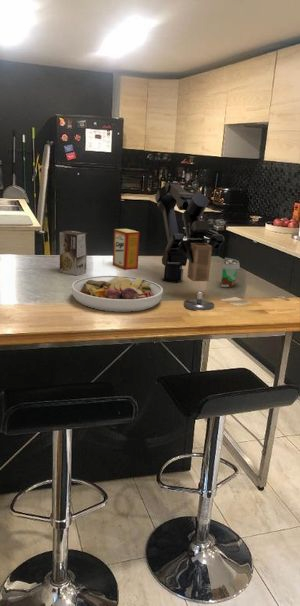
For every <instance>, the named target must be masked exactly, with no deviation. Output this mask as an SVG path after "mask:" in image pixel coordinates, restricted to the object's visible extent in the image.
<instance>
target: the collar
mask: <svg viewBox="0 0 300 606" xmlns="http://www.w3.org/2000/svg"><path fill="white" fill-rule="evenodd" d="M190 248H191V252H192V256H193V261H194V262H193V263H191V262H190V261H189V260H188V267H187V278H188V279H189V280H191V282H209V279H210V271H211V270H210V269H211V261H212V260H211V259H212V253H213V252H212V251H213V250H212V246H211V245H209V244H207V243H191V244H190Z"/></svg>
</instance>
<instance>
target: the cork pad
mask: <svg viewBox="0 0 300 606" xmlns="http://www.w3.org/2000/svg"><path fill="white" fill-rule="evenodd" d="M220 301H221V302H225V303H227V304H231V305H232V306H233V305H234V306H235V307H239V306H244V305H245V306H246V305H250V304H253V302H252V301H250V300H249V301H248V300H246V299H243V298H239V297H237V296H234V297H228V298H222V299H220Z"/></svg>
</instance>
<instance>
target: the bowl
mask: <svg viewBox="0 0 300 606" xmlns="http://www.w3.org/2000/svg"><path fill="white" fill-rule="evenodd" d="M71 293H72V296H73V298H74V299H75V300H76V301H77V302H78V303H80V304H81V305H83V306H85V307H87V306H88V307H87V308H90V307H91V308H90V309H93V308H95V309H94V310H97V309H99V311H103V310H105V311H104V312H111V311H114V312H115V313H129V312H130V313H131V311H133V312H140V311H145V310H148V309H151V308H153V307H155V306H156V305H157V304H158V303H160V301H161V299H162V297H163V295H164V294H163V293H164V289H163V287H162V286H161V285H160V284H159V283H156V282H154V281H152V280H147V279H145V278H141V277H133V276H123V275H96V276H95V275H94V276H88V277H84V278H79V279H77V280H75V281H74V282H72V284H71Z"/></svg>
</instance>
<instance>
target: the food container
mask: <svg viewBox="0 0 300 606" xmlns="http://www.w3.org/2000/svg"><path fill="white" fill-rule="evenodd" d="M222 264H223V265H222V273H221V283H220V288H224V289H225V288H226V289H228V288H233V287H235V284H236V280H237V275H238V269H240V268H241V267H240V261H239V260H237V259H234V258H230V257H224V262H223V263H222Z"/></svg>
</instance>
